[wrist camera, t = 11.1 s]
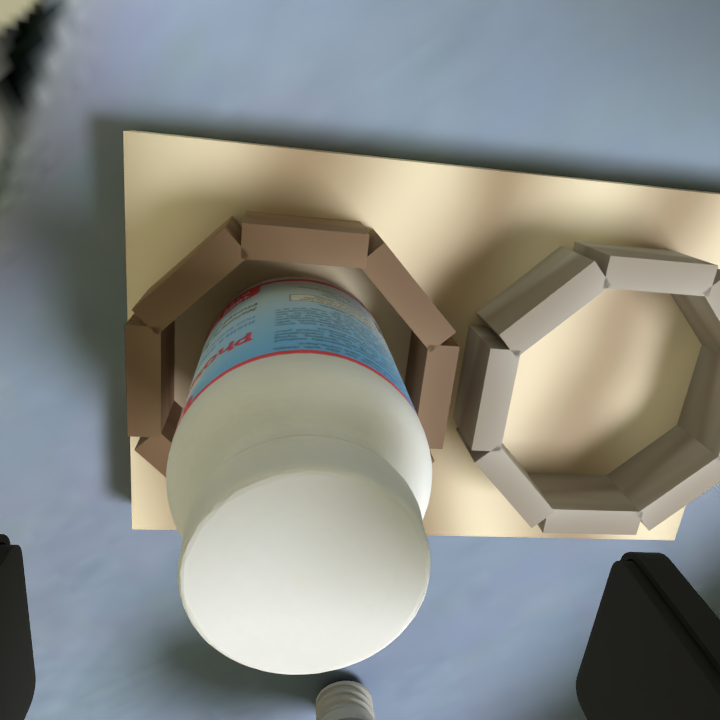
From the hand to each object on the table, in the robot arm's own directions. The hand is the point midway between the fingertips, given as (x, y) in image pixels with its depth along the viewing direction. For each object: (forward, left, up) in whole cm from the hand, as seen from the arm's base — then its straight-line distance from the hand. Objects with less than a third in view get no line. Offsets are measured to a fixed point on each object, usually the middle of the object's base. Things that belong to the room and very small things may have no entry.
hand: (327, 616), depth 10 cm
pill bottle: (0, 0, -13) cm, 13 cm away
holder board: (-5, 0, -14) cm, 15 cm away
